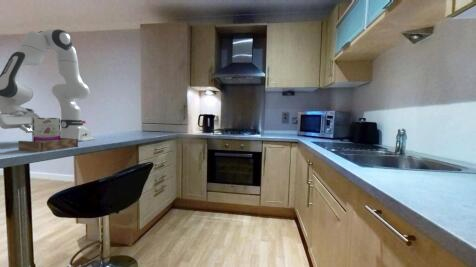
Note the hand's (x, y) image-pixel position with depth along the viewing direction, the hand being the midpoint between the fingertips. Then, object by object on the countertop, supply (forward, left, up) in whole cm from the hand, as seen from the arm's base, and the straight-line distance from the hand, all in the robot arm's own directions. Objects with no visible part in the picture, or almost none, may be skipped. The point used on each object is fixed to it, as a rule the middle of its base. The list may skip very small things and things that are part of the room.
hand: (30, 132), depth 129 cm
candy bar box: (+3, +14, -8) cm, 17 cm away
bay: (+1, +13, -8) cm, 15 cm away
